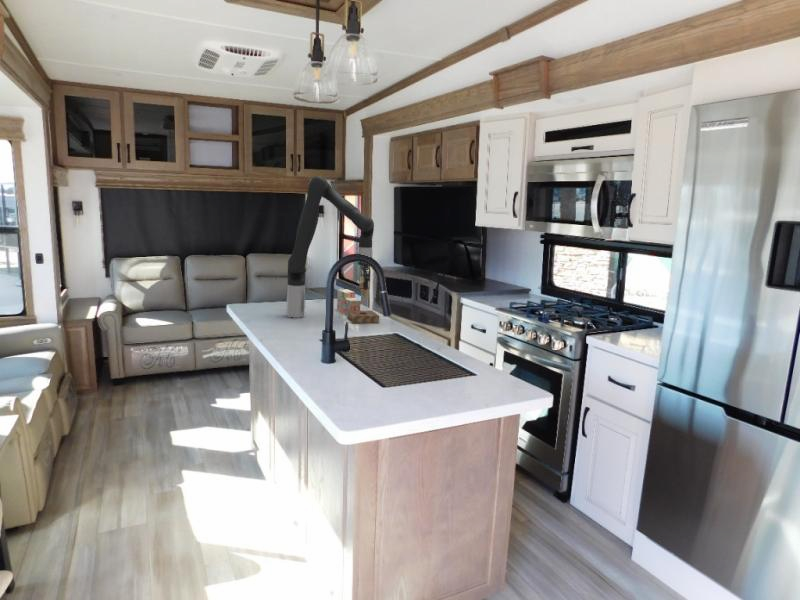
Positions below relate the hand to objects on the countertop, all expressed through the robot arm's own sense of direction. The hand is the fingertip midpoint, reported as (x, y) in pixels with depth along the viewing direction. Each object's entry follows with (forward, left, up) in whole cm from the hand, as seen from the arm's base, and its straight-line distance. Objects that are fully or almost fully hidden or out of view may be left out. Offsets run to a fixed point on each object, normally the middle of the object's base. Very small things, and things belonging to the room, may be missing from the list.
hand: (364, 287), depth 289 cm
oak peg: (0, 0, -4) cm, 4 cm away
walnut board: (0, 0, -18) cm, 18 cm away
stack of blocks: (-4, +20, -18) cm, 28 cm away
